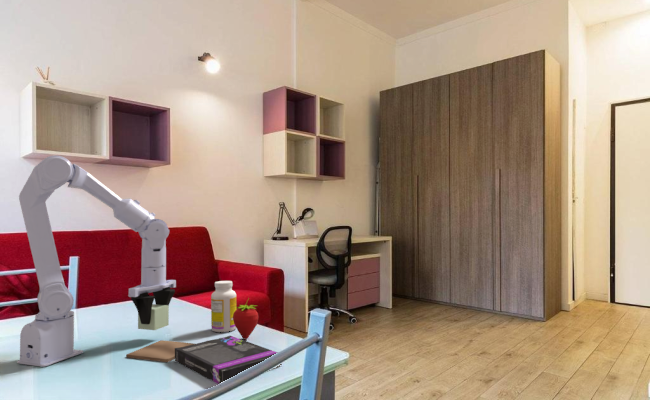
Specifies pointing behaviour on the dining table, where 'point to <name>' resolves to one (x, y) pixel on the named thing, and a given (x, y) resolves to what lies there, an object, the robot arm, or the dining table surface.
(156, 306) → the sage cube
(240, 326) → the strawberry
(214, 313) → the supplement bottle
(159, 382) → the dining table surface
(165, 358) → the walnut board
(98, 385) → the dining table surface
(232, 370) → the box
